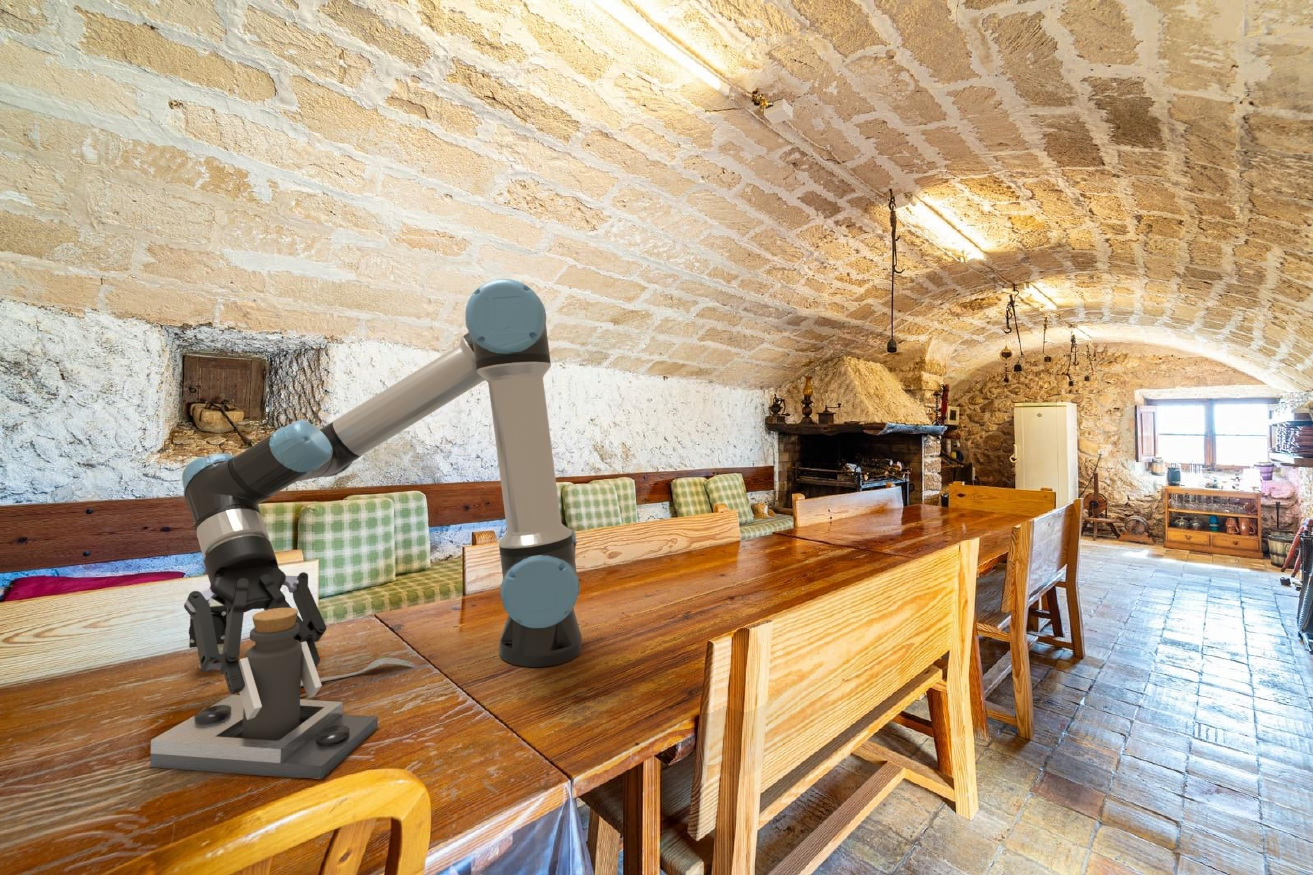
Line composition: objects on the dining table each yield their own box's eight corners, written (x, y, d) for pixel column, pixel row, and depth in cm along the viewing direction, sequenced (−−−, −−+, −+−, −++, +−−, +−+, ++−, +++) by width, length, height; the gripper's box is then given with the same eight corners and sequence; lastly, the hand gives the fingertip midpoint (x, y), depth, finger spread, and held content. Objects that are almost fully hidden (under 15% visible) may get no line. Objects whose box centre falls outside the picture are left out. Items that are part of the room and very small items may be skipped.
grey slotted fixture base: (377, 728, 72) (378, 700, 72) (321, 780, 61) (322, 747, 61) (230, 717, 73) (231, 690, 73) (150, 767, 62) (151, 734, 62)
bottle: (262, 719, 70) (266, 605, 70) (308, 718, 70) (312, 606, 70) (230, 745, 64) (234, 621, 64) (281, 744, 65) (285, 621, 65)
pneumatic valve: (185, 681, 83) (187, 604, 83) (206, 653, 94) (208, 585, 94) (229, 674, 86) (232, 600, 86) (245, 648, 96) (247, 582, 96)
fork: (272, 703, 83) (270, 686, 83) (417, 663, 93) (416, 648, 93) (270, 712, 80) (268, 694, 80) (419, 669, 91) (417, 654, 91)
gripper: (302, 554, 84) (352, 688, 75) (139, 579, 68) (178, 752, 59) (320, 525, 81) (374, 661, 72) (154, 543, 65) (196, 720, 56)
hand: (285, 702), depth 65 cm, fingers closed on bottle, 6 cm apart
